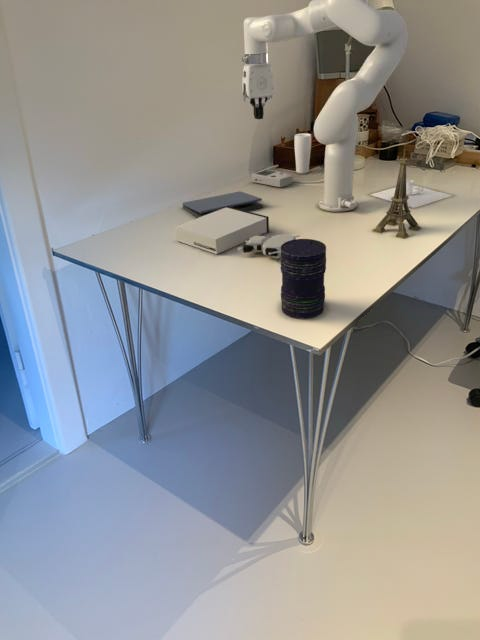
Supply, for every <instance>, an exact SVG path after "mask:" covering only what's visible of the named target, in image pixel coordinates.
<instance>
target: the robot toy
mask: <svg viewBox="0 0 480 640" xmlns="http://www.w3.org/2000/svg"><path fill="white" fill-rule="evenodd" d="M300 237H301V234H299V235H295V236H293V235H291V234H277V235H273V236H271V237H269V238H268V237H267V236H264V235H263V234H261V235H257V236H253V237H252V238H248V240H246V241H245V242H244V244H243V246H238V247H237V252H243V253H253V254H257V253H262V254H263V255H264V256H265V257H271V258H273V259H275V260H279V259H280V258H281V246H282V244H284V243H285V242H287V241H290V240H295V239H297V238H300Z"/></svg>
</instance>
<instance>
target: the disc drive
mask: <svg viewBox="0 0 480 640" xmlns="http://www.w3.org/2000/svg"><path fill="white" fill-rule="evenodd" d="M269 220H270V219H269V216H268V215H263V214H259V213H256V212H252V211H244V210H240V209H237V208H233V207H229V206H226V208H223V209H221V210H218V211H215V212H212V213H210V214H207V215H204V216H202V217H199V218H197V217H195V218H194V219H191V220H189V221H186V222H183V223H181V224H178V225H175V226H174V230H175V231H174V232H175V240H176V242H180V243H183V244H186V245H188V246H191V247H194V248H197V249H200V250H203V251H206V252H209V253H211V254H215V255H218V254H220V253H223V252H225V251H227V250H230V249H232V248H234V247H236V246H239V245H240V244H243V243H245V241H246V240H248V238H252V237H253V236H257V235H263V234H265V233H267V234H268V233H269V232H270V228H269V227H270V224H269V223H270V221H269Z"/></svg>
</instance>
